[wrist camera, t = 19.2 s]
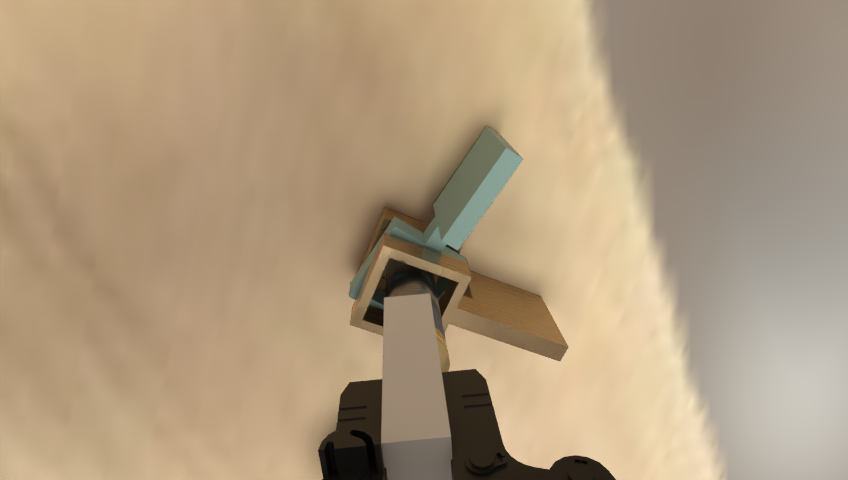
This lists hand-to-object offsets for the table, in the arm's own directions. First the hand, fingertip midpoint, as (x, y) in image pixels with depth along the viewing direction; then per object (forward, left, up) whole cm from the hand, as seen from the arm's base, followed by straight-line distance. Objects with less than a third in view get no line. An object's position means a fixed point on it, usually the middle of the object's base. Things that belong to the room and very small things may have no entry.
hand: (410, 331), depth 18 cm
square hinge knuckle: (+7, -6, -21) cm, 23 cm away
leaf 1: (+4, -2, -21) cm, 22 cm away
